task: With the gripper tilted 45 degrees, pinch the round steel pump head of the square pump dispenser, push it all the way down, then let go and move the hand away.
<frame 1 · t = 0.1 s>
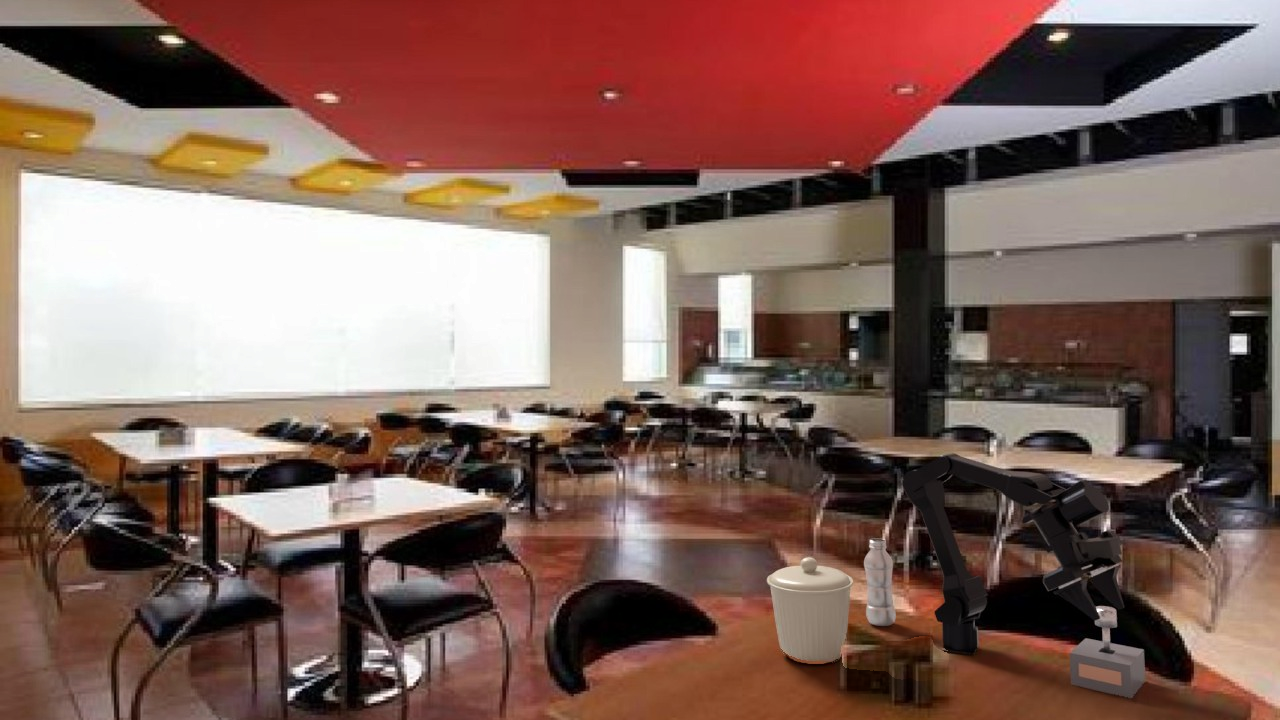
hand: (1109, 614, 146), 15 cm above the table, tool tilted 35°, fingers open, 9 cm apart
plastic bottle: (881, 625, 188), on the table
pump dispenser: (1108, 682, 151), on the table
pump plunger: (1106, 631, 151), point 10 cm above the table, slide at 0.0 cm
canister: (812, 657, 170), on the table
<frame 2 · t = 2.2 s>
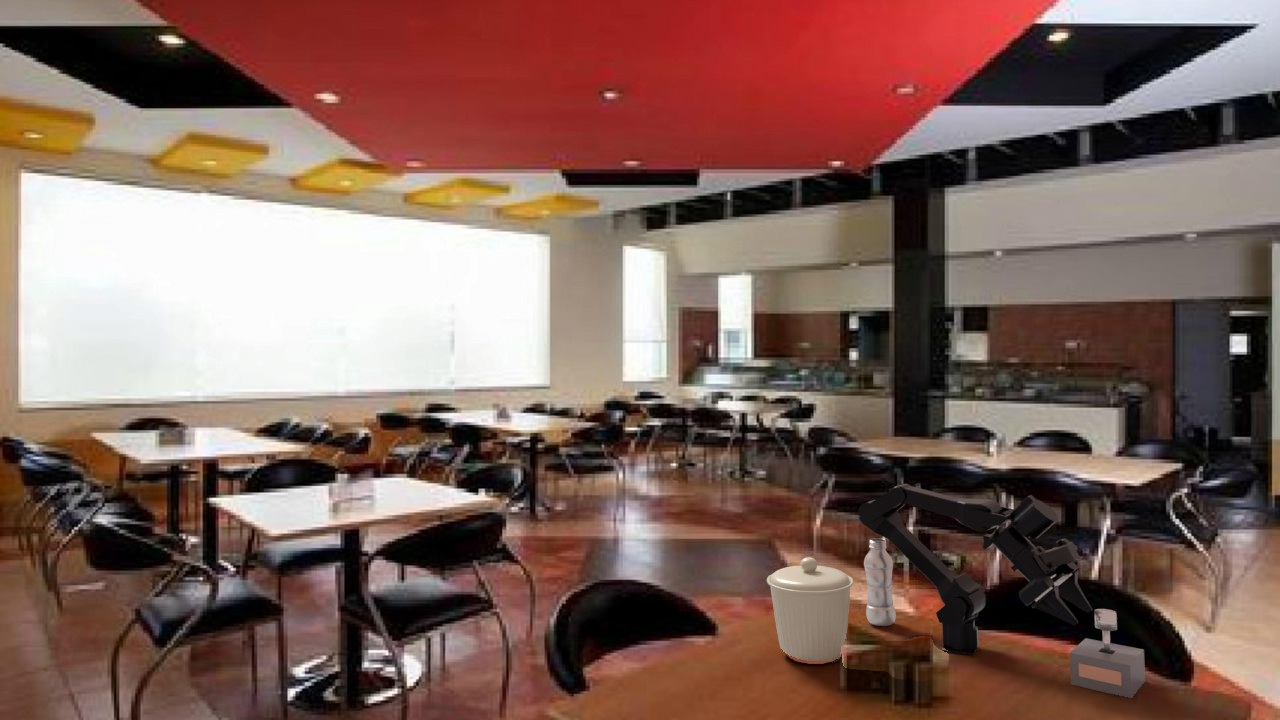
hand: (1083, 617, 154), 12 cm above the table, tool tilted 45°, fingers open, 9 cm apart
pump plunger: (1106, 634, 151), point 9 cm above the table, slide at 0.5 cm
everything else where it was.
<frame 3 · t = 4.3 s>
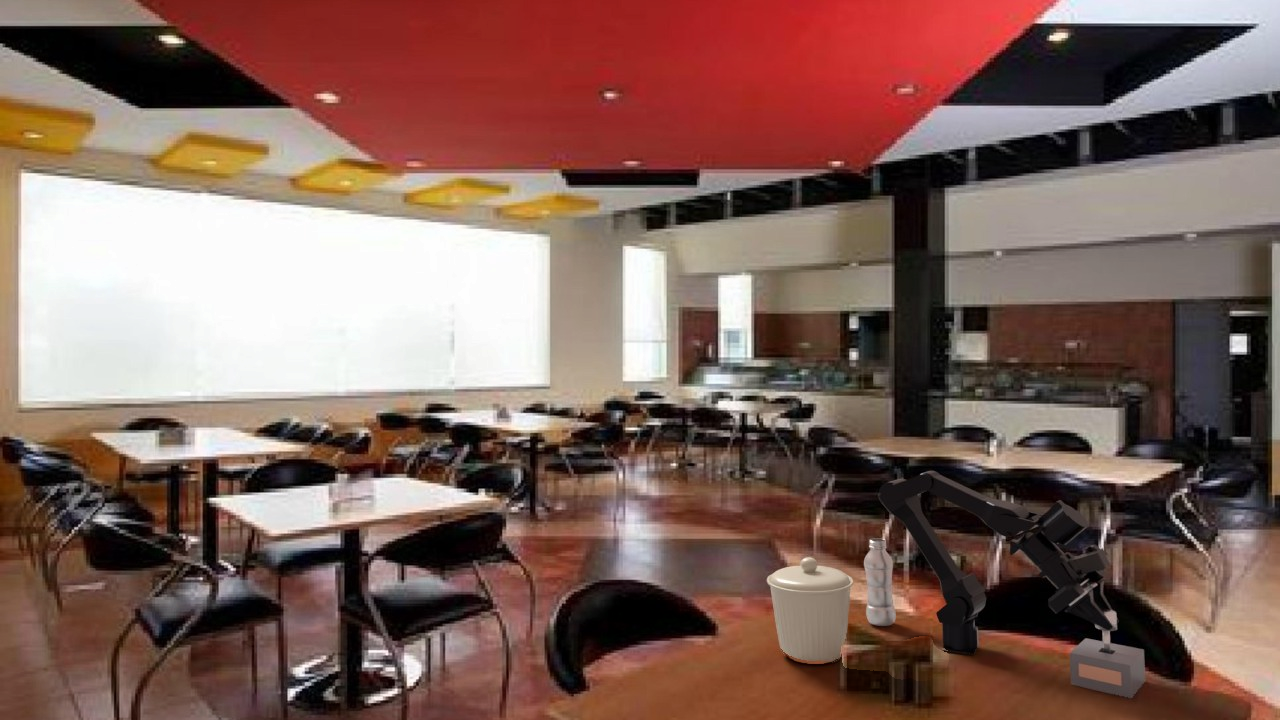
hand: (1114, 626, 150), 11 cm above the table, tool tilted 45°, fingers closed on pump plunger, 4 cm apart
pump plunger: (1106, 634, 151), point 9 cm above the table, slide at 0.5 cm, touching gripper
everything else where it was.
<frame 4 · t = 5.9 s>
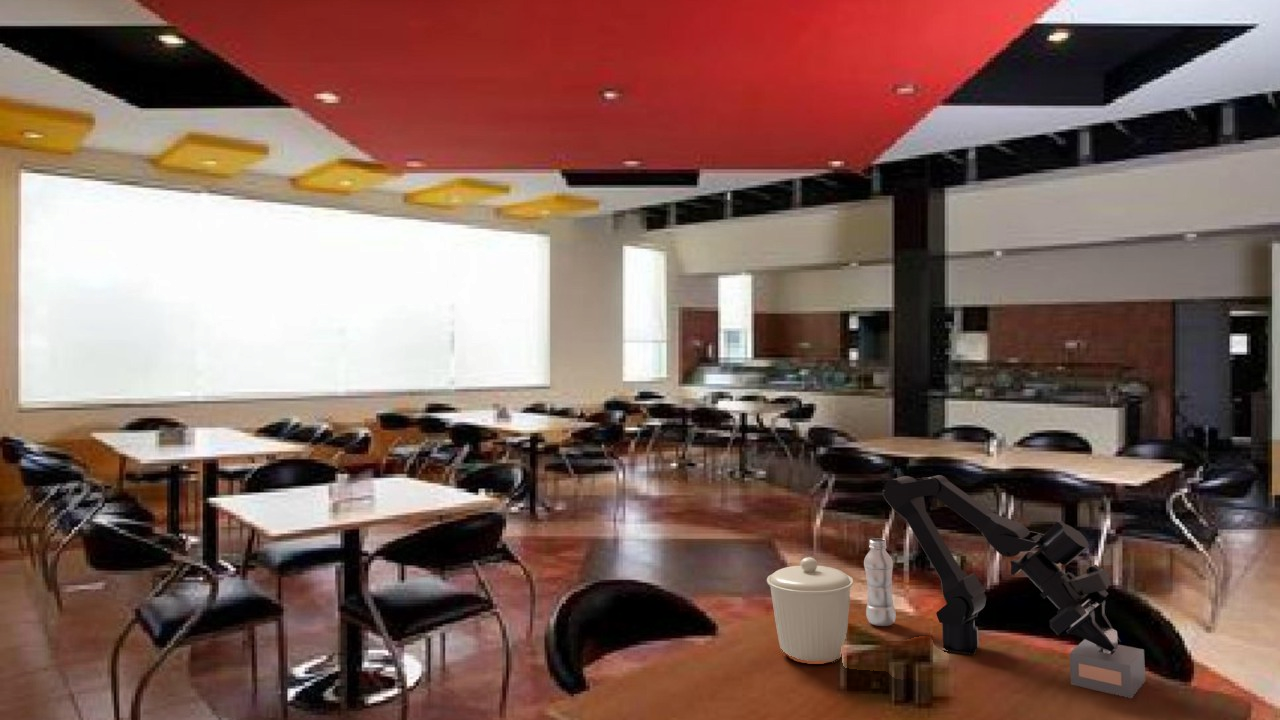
hand: (1115, 646, 150), 7 cm above the table, tool tilted 45°, fingers closed on pump plunger, 4 cm apart
pump plunger: (1106, 653, 151), point 6 cm above the table, slide at 4.1 cm, touching gripper
everything else where it was.
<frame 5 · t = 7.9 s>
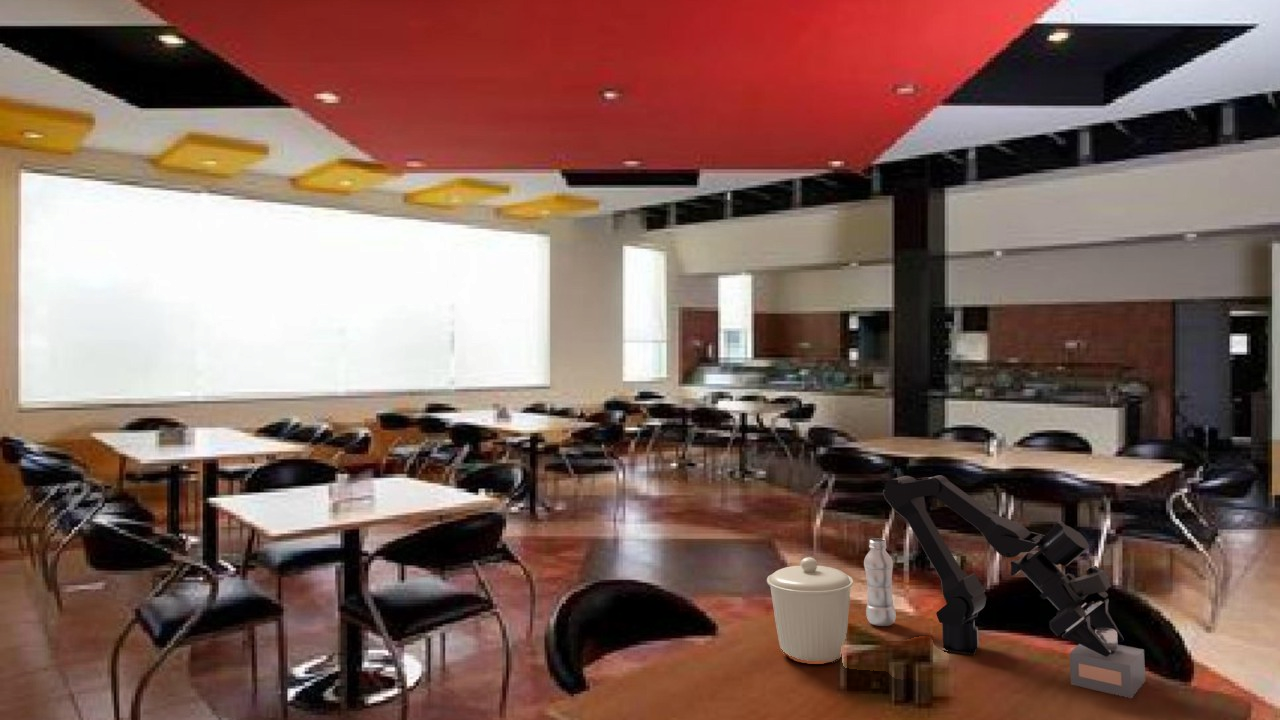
hand: (1115, 648, 150), 7 cm above the table, tool tilted 45°, fingers open, 9 cm apart
pump plunger: (1106, 653, 151), point 6 cm above the table, slide at 4.1 cm
everything else where it was.
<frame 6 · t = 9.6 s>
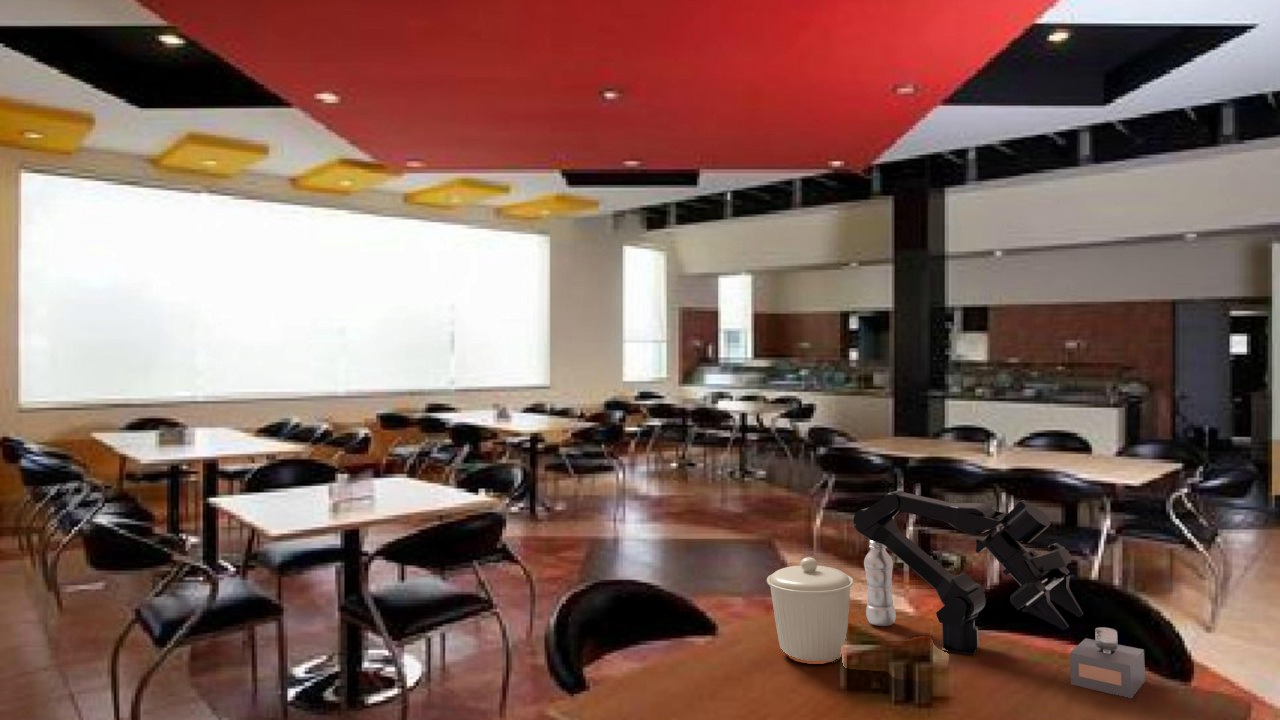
hand: (1074, 621, 155), 10 cm above the table, tool tilted 45°, fingers open, 9 cm apart
nothing on the table moved.
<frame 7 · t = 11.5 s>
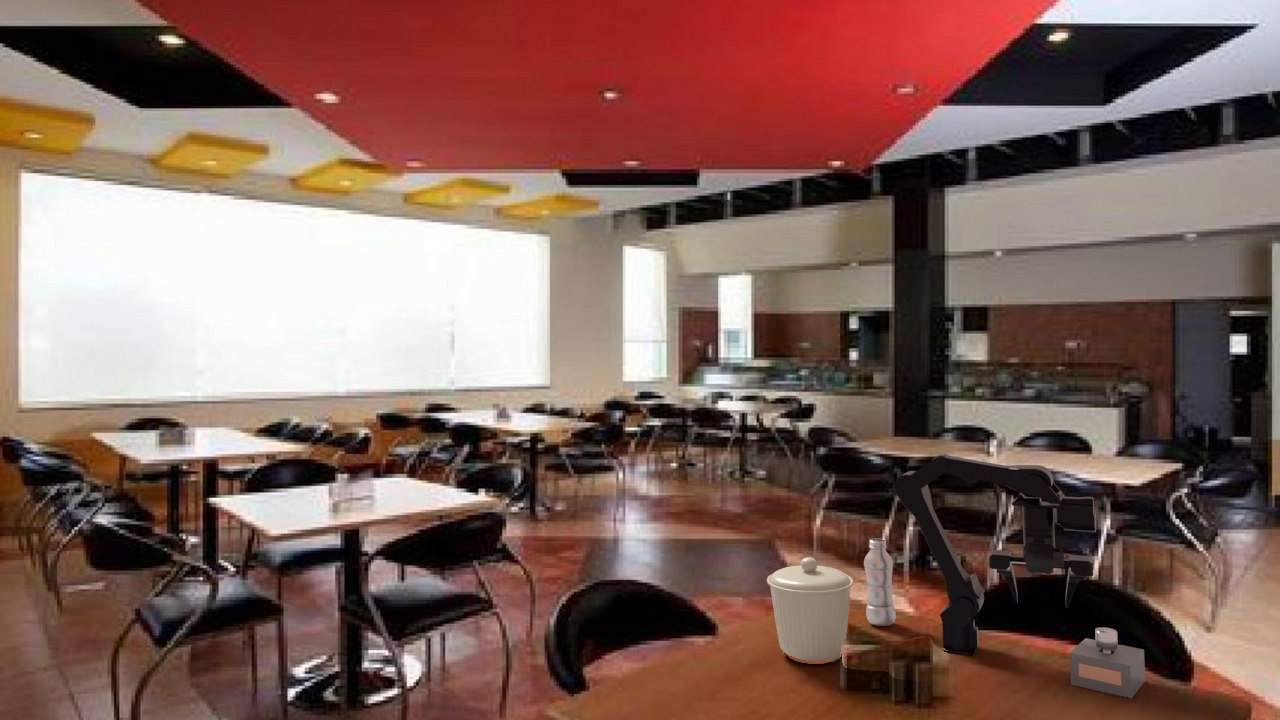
hand: (1041, 604, 163), 12 cm above the table, tool pointing down, fingers open, 9 cm apart
nothing on the table moved.
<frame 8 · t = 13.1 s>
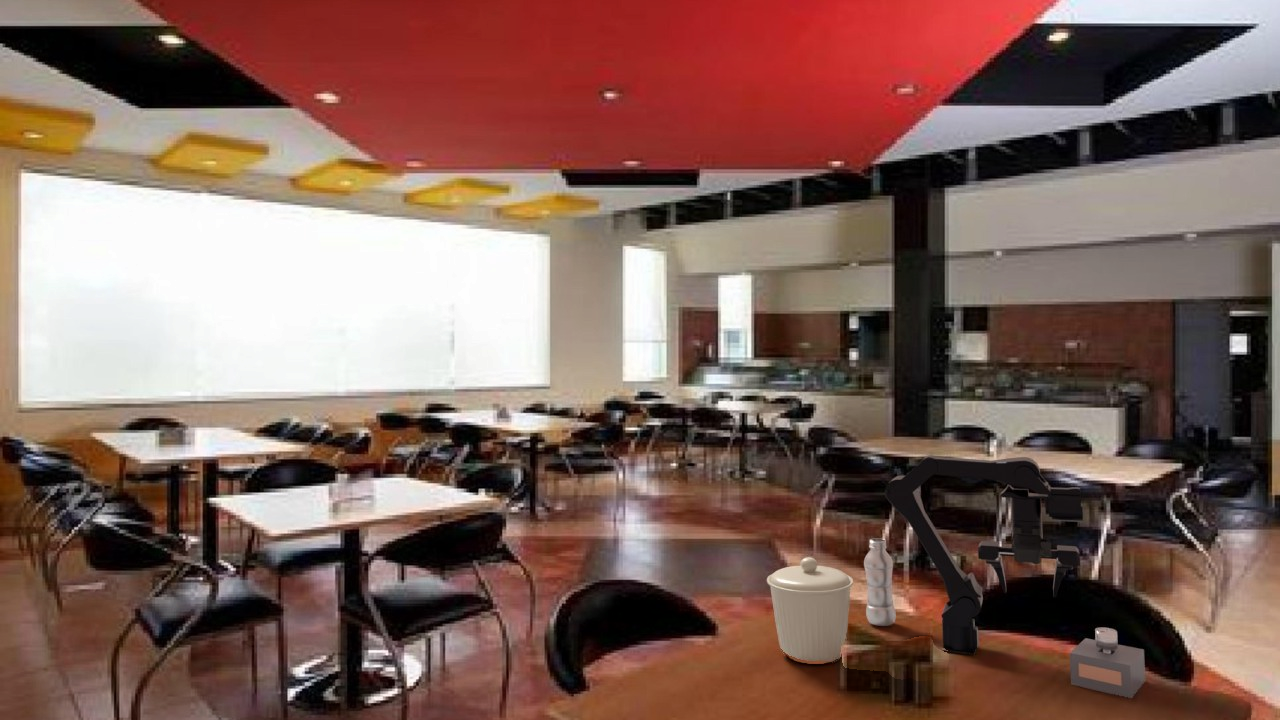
hand: (1029, 594, 165), 13 cm above the table, tool pointing down, fingers open, 9 cm apart
nothing on the table moved.
at the end: pump plunger slide at 4.1 cm; the gripper is holding nothing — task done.
